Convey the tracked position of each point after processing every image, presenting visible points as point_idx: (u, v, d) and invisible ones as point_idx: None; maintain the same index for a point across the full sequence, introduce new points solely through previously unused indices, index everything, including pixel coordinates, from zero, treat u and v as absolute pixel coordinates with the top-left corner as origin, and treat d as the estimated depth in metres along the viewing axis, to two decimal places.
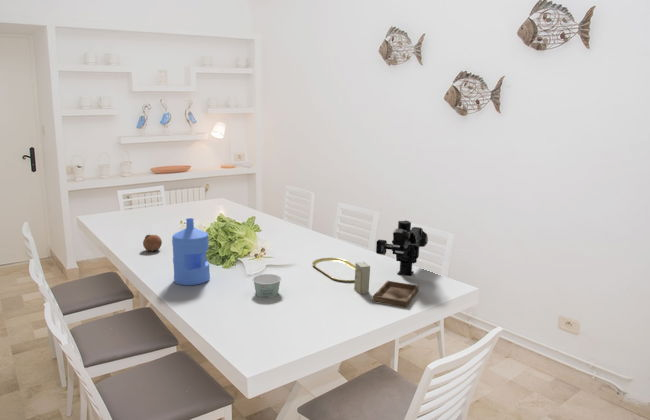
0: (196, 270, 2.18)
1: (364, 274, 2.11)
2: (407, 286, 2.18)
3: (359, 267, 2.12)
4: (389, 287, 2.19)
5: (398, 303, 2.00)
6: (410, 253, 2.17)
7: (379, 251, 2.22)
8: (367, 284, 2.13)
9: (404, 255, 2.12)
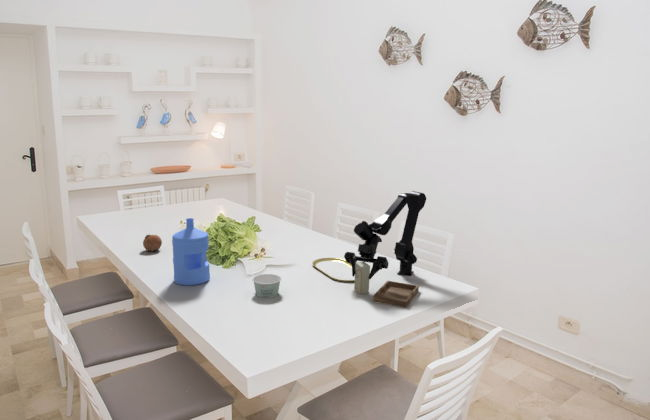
0: (196, 270, 2.18)
1: (364, 274, 2.11)
2: (407, 286, 2.18)
3: (359, 267, 2.12)
4: (389, 287, 2.19)
5: (398, 303, 2.00)
6: (377, 266, 2.15)
7: (351, 263, 2.20)
8: (367, 284, 2.13)
9: (371, 276, 2.13)
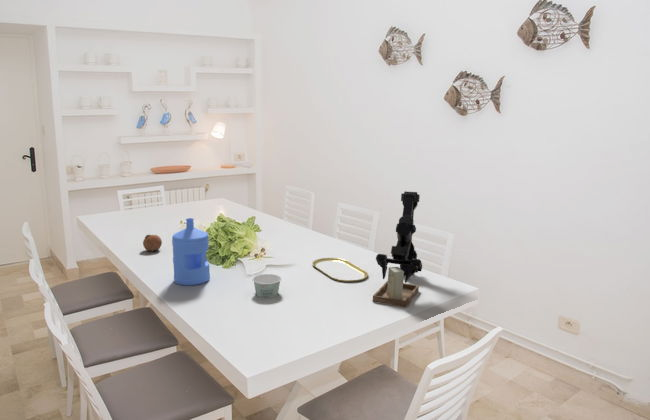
0: (196, 270, 2.18)
1: (398, 279, 2.04)
2: (407, 286, 2.18)
3: (392, 272, 2.04)
4: None
5: (398, 303, 2.00)
6: (413, 269, 2.06)
7: (381, 265, 2.13)
8: (400, 290, 2.05)
9: (407, 280, 2.04)
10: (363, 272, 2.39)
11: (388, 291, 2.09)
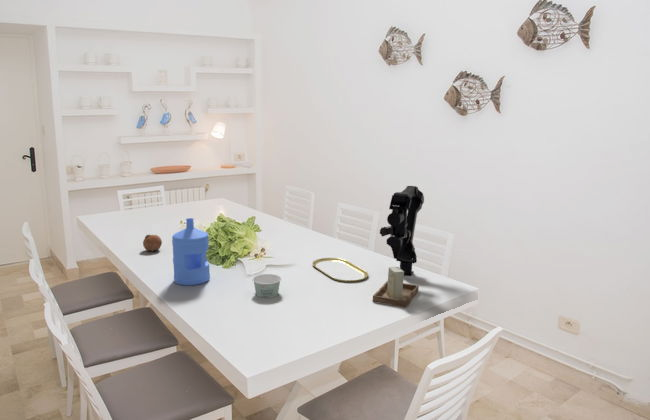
0: (196, 270, 2.18)
1: (398, 279, 2.04)
2: (407, 286, 2.18)
3: (392, 272, 2.04)
4: None
5: (398, 303, 2.00)
6: None
7: None
8: (400, 290, 2.05)
9: (395, 256, 2.18)
10: (363, 272, 2.39)
11: (388, 291, 2.09)
